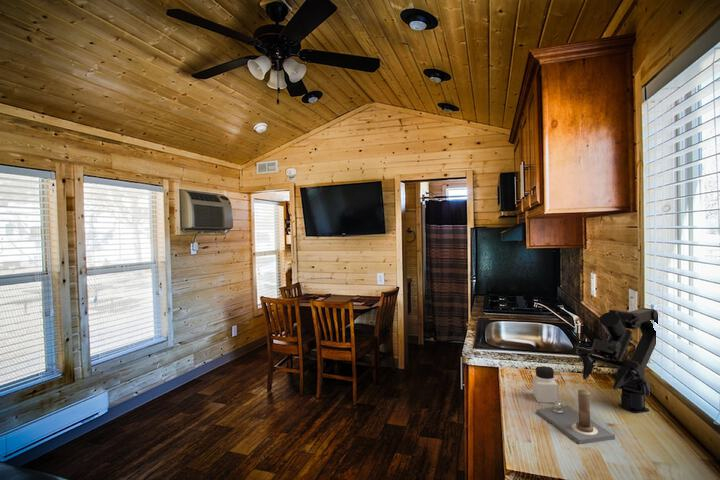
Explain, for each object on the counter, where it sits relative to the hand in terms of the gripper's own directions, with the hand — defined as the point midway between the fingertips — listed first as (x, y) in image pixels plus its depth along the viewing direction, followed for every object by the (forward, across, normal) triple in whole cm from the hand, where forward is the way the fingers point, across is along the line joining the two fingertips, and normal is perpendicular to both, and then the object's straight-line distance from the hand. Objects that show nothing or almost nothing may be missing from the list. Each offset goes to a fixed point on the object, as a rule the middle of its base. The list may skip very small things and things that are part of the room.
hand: (598, 384), depth 120 cm
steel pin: (+12, -11, +6) cm, 17 cm away
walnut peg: (+14, 0, +3) cm, 15 cm away
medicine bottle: (+8, -21, +12) cm, 26 cm away
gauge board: (+14, -5, +5) cm, 16 cm away
